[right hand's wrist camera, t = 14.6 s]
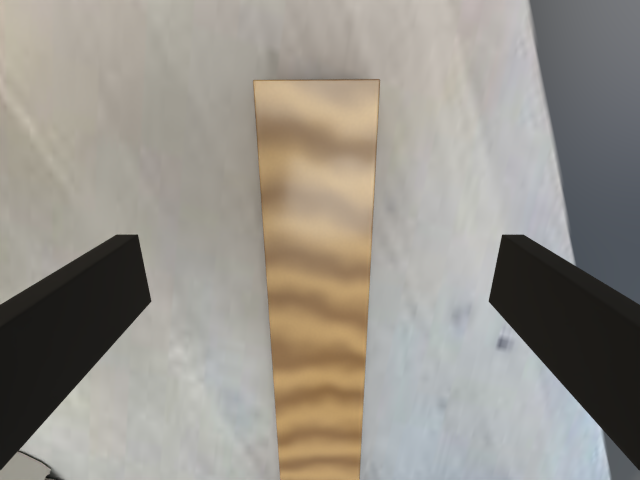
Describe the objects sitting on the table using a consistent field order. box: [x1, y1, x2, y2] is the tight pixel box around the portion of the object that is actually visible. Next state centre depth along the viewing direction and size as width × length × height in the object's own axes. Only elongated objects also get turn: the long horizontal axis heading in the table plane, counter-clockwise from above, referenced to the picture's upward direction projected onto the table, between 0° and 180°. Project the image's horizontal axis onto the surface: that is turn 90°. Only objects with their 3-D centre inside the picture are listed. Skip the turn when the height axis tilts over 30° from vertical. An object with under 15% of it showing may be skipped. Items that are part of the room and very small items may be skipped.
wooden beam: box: [253, 79, 380, 480], centre depth 42 cm, size 74×10×6 cm, turn 0°
